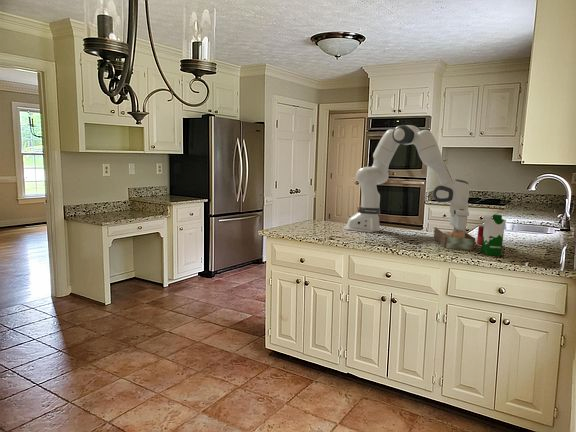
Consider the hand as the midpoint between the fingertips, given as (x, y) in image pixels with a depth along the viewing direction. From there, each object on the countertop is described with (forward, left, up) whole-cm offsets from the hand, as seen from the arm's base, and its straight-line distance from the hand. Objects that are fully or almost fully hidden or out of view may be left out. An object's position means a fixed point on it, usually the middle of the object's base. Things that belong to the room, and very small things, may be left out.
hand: (456, 235), depth 234 cm
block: (0, -4, -1) cm, 5 cm away
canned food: (+17, +8, -5) cm, 20 cm away
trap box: (0, +5, -5) cm, 7 cm away
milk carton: (+13, -16, -5) cm, 22 cm away
